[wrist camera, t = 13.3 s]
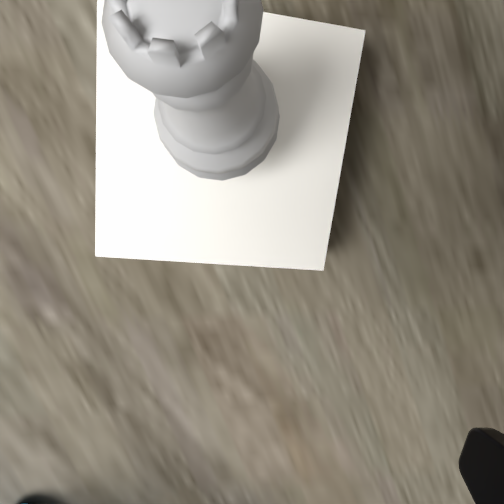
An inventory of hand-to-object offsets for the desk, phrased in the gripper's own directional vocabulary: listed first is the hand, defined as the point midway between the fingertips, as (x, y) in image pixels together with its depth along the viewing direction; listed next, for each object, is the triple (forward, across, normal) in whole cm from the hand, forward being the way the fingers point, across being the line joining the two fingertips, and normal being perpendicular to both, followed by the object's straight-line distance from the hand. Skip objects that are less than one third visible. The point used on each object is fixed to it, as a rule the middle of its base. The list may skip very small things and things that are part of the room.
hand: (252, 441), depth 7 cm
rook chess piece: (+10, +1, -6) cm, 12 cm away
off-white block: (+14, 0, -5) cm, 14 cm away
